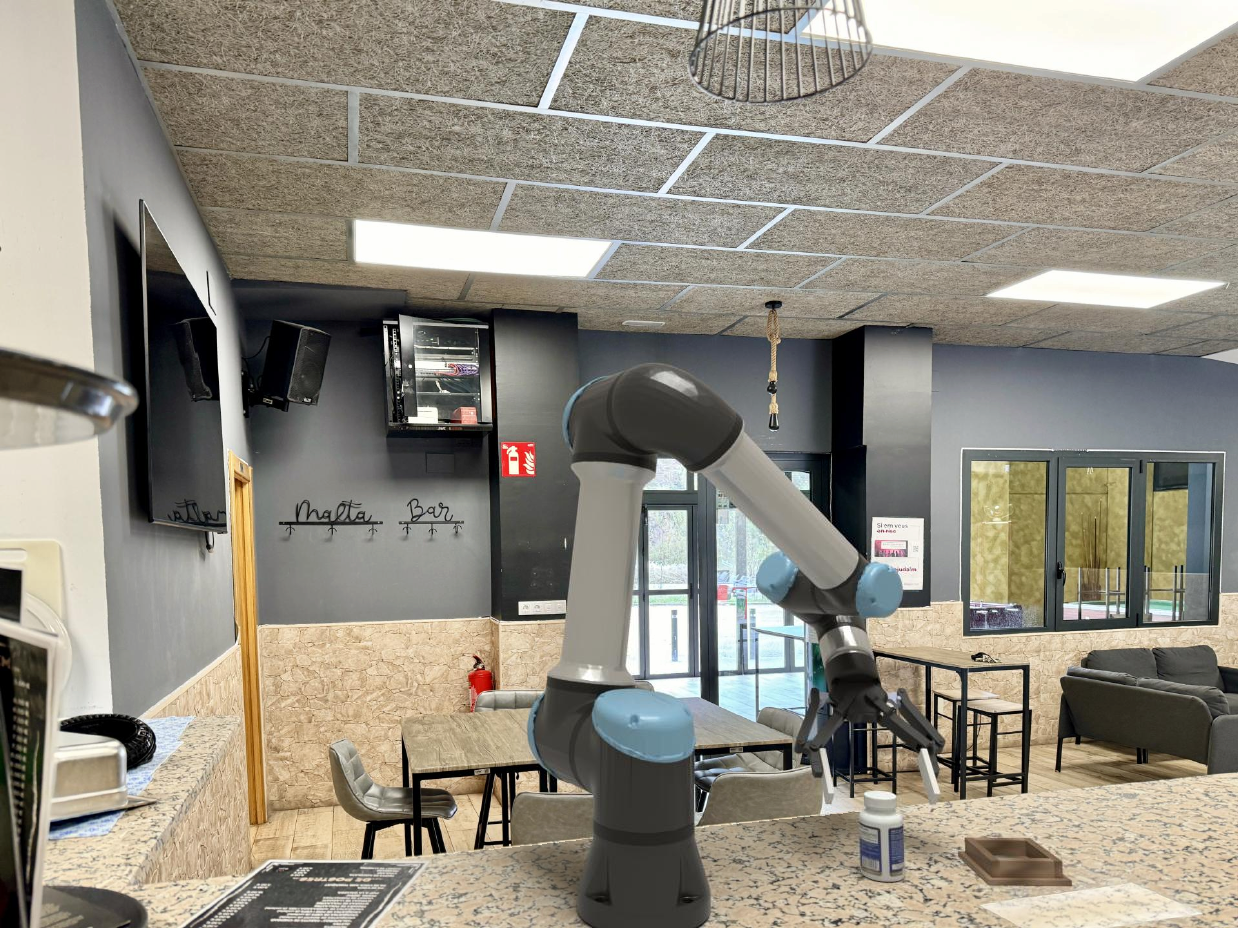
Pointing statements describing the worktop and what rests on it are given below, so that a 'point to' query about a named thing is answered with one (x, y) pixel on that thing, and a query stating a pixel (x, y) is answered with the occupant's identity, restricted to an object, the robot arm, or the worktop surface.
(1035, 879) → the socket block
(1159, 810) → the worktop surface
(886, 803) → the pill bottle
